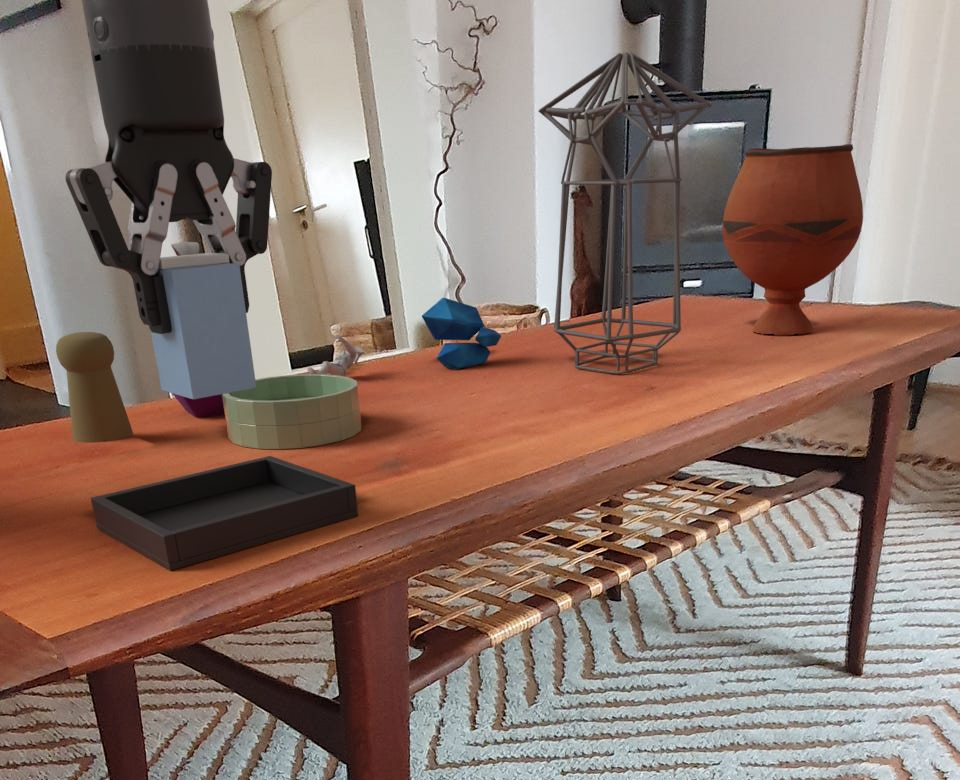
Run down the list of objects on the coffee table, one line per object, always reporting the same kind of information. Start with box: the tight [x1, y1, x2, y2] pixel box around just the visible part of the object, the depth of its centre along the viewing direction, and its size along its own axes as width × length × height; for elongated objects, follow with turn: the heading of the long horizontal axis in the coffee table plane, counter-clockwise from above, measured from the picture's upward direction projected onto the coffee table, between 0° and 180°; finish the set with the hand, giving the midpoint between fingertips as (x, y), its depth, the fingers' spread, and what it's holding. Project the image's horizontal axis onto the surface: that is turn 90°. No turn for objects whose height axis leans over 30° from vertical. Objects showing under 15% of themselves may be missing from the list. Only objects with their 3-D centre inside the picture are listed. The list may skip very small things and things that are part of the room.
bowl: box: [222, 373, 362, 450], centre depth 97 cm, size 13×13×5 cm
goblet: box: [721, 143, 864, 336], centre depth 140 cm, size 19×19×25 cm
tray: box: [90, 455, 359, 572], centre depth 74 cm, size 16×13×2 cm
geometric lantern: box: [538, 52, 713, 375], centre depth 118 cm, size 16×16×35 cm
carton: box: [150, 252, 256, 399], centre depth 68 cm, size 5×5×9 cm
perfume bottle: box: [171, 241, 225, 419], centre depth 104 cm, size 8×8×18 cm
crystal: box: [421, 297, 502, 370], centre depth 128 cm, size 7×9×12 cm
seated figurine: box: [307, 335, 366, 377], centre depth 122 cm, size 8×5×12 cm
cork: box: [55, 331, 135, 444], centre depth 95 cm, size 6×6×11 cm
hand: (198, 326), depth 68 cm, fingers closed on carton, 5 cm apart
